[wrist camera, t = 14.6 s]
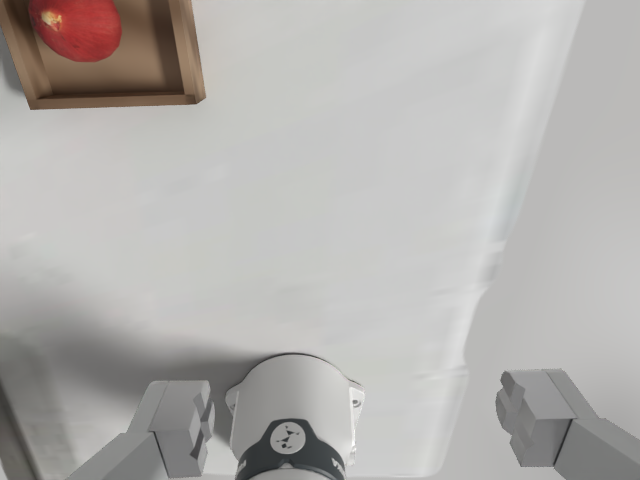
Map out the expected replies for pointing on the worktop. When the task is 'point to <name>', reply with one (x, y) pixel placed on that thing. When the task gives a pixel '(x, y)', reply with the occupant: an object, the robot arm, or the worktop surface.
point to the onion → (77, 27)
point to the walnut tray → (112, 60)
